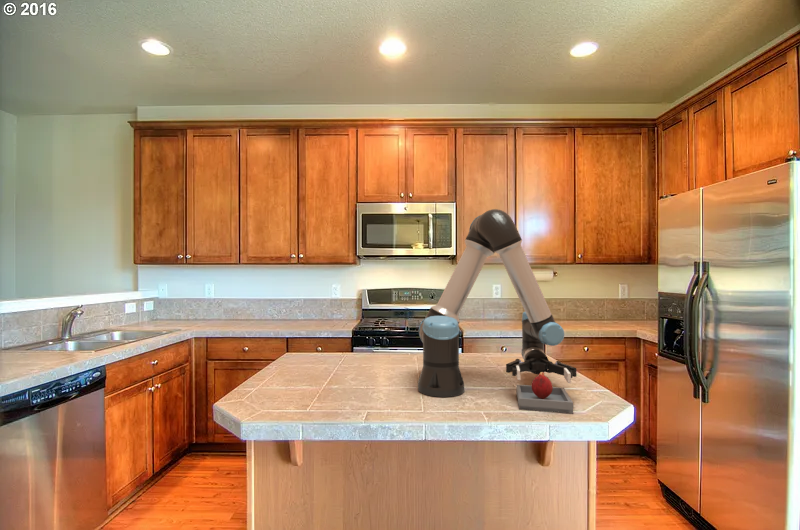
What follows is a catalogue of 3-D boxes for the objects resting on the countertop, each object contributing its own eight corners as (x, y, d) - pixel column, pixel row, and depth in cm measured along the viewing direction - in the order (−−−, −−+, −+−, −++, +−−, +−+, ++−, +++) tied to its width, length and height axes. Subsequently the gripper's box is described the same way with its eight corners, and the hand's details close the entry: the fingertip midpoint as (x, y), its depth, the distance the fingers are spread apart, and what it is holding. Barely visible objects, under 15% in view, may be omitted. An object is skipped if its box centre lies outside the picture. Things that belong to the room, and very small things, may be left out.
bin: (573, 413, 103) (573, 402, 103) (519, 409, 107) (519, 398, 107) (564, 397, 117) (563, 387, 117) (516, 394, 120) (516, 384, 120)
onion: (550, 404, 108) (550, 376, 108) (529, 401, 111) (529, 373, 111) (554, 397, 113) (553, 371, 113) (534, 394, 116) (533, 368, 116)
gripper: (575, 373, 126) (591, 393, 106) (498, 369, 132) (498, 387, 112) (575, 351, 127) (591, 366, 106) (497, 347, 133) (498, 361, 112)
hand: (543, 377), depth 109 cm, fingers open, 13 cm apart
